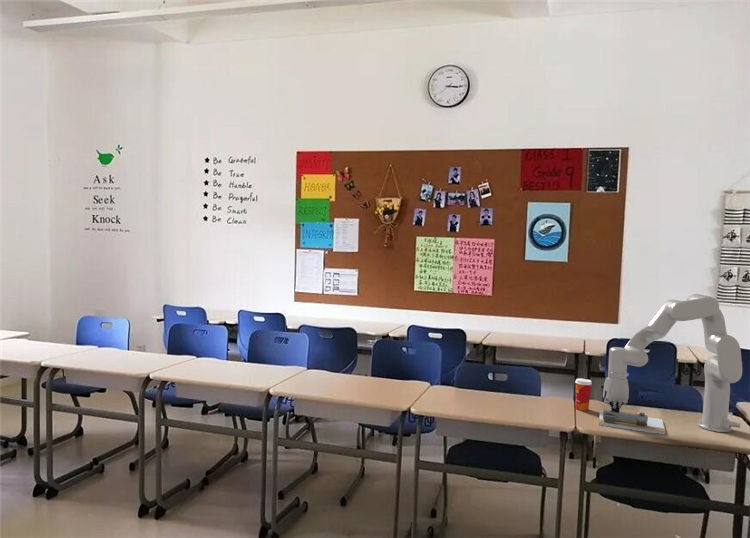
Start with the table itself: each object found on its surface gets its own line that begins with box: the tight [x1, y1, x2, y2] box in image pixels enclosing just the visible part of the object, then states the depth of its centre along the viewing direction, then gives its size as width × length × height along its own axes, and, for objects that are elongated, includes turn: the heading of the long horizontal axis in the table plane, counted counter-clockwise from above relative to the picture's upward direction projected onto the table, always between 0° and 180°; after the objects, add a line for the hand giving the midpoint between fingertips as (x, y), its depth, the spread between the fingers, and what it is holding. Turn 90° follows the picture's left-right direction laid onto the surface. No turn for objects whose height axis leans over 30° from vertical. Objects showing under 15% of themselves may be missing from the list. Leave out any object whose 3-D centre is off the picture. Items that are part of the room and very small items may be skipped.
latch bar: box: [602, 408, 649, 426], centre depth 256 cm, size 18×5×5 cm, turn 66°
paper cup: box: [574, 378, 593, 412], centre depth 279 cm, size 8×8×14 cm
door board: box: [598, 410, 666, 436], centre depth 260 cm, size 26×20×4 cm
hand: (615, 416), depth 261 cm, fingers closed
